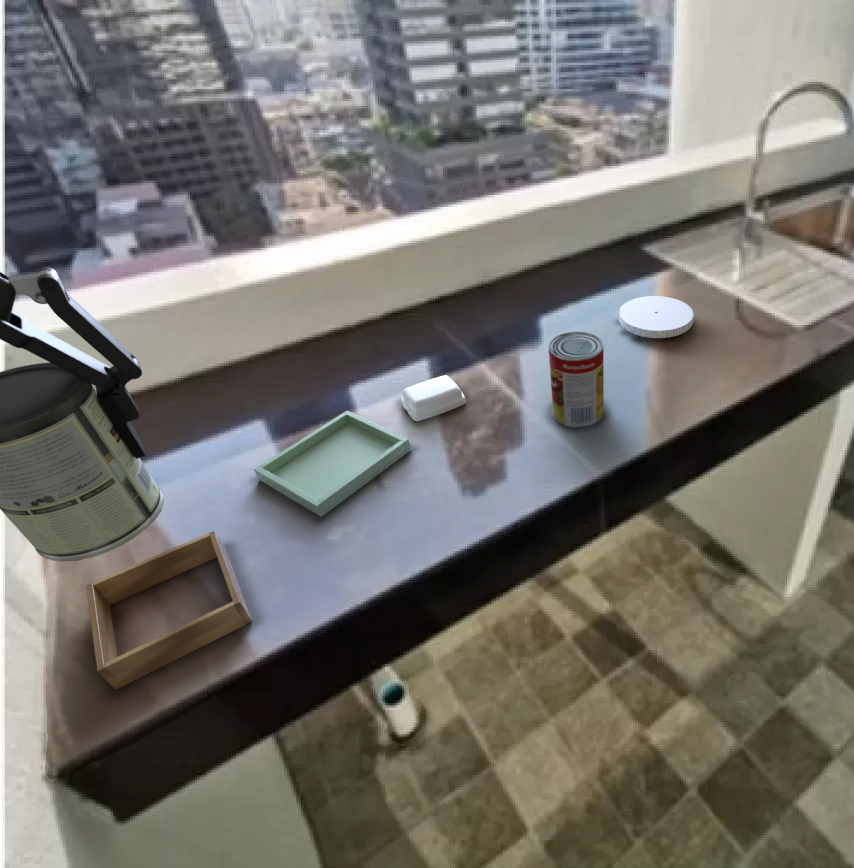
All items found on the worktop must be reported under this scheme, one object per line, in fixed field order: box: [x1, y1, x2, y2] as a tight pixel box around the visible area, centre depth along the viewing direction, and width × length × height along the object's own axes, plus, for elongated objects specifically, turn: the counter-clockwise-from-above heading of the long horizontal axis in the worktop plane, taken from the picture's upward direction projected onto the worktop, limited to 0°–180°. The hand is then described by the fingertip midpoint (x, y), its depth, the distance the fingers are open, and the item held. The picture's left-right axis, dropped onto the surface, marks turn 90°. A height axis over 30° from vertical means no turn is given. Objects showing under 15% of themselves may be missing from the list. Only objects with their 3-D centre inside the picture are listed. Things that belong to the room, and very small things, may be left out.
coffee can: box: [0, 362, 165, 562], centre depth 52 cm, size 10×10×14 cm
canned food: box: [548, 331, 605, 429], centre depth 90 cm, size 8×8×12 cm
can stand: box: [85, 530, 253, 691], centre depth 65 cm, size 13×13×4 cm
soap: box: [400, 374, 467, 422], centre depth 95 cm, size 9×7×3 cm
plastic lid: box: [618, 295, 695, 339], centre depth 115 cm, size 14×14×2 cm
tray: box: [253, 410, 412, 518], centre depth 84 cm, size 16×13×2 cm
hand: (67, 474), depth 53 cm, fingers closed on coffee can, 10 cm apart
